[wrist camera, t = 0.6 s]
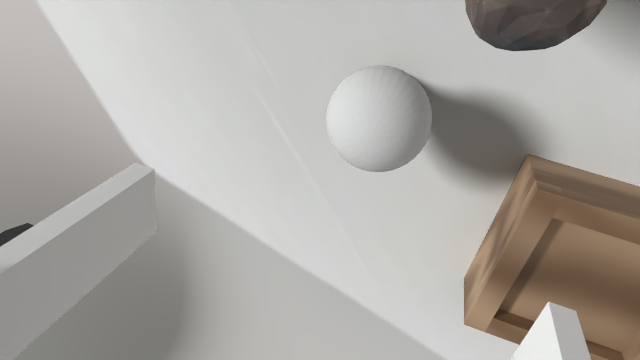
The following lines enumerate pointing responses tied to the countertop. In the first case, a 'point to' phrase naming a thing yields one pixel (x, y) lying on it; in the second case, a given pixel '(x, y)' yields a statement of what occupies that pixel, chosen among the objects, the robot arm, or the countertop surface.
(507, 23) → the mortar and pestle
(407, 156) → the light bulb
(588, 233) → the tray
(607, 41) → the countertop surface
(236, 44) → the countertop surface
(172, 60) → the countertop surface
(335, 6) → the countertop surface
